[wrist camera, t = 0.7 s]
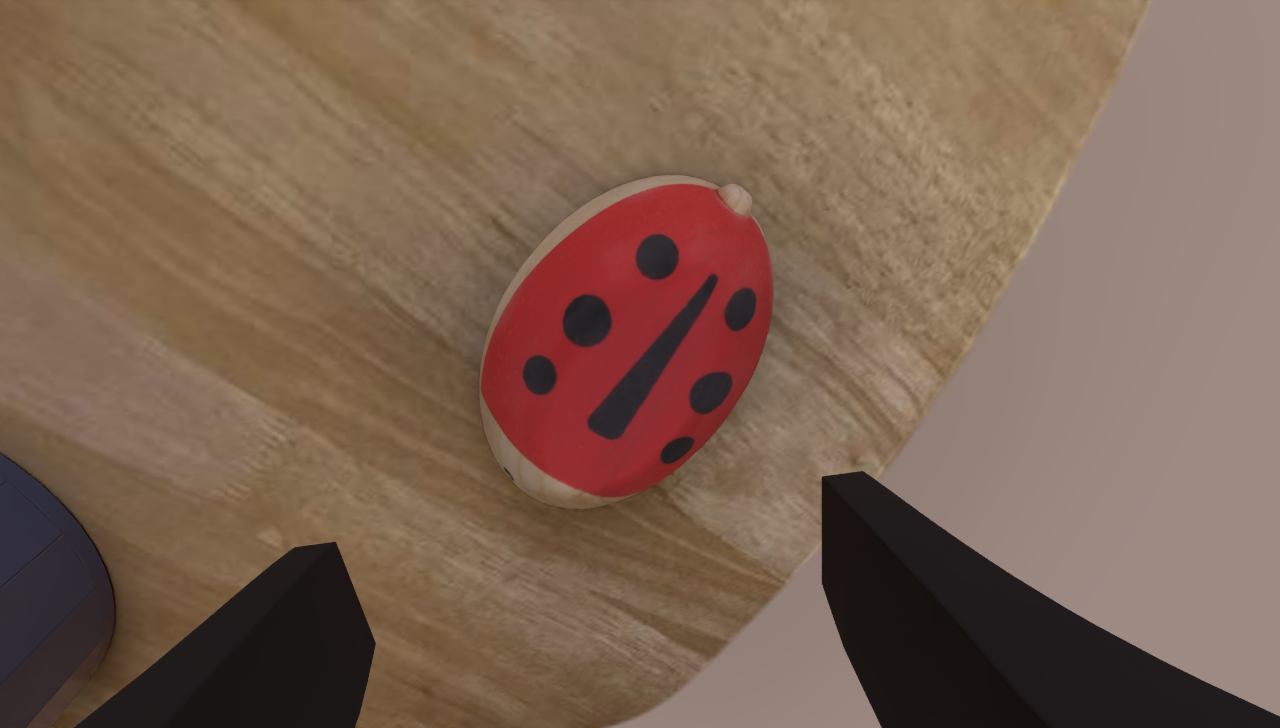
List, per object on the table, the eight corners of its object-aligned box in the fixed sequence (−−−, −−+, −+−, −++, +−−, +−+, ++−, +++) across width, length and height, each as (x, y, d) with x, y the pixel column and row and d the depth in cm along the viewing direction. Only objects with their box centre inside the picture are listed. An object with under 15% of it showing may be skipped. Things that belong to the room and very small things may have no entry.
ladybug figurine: (436, 421, 19) (402, 495, 15) (604, 99, 15) (605, 108, 12) (638, 511, 20) (646, 594, 17) (827, 238, 17) (880, 277, 14)
